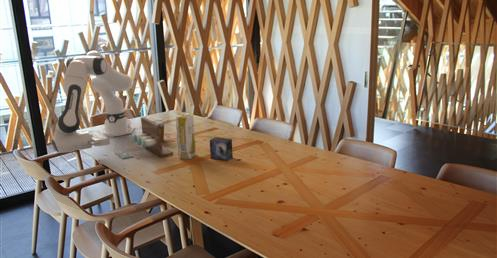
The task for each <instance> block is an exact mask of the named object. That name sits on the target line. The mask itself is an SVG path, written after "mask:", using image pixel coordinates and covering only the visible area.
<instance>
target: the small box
mask: <svg viewBox="0 0 497 258" xmlns="http://www.w3.org/2000/svg"><path fill="white" fill-rule="evenodd" d="M209 150H210V159H213V160H217V161H223V162H228V161H229V160H231V159H233V158H234V156H233V139H232V138H225V137H218V136H215V137H213V138H211V139H209Z"/></svg>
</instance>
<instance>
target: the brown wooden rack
mask: <svg viewBox="0 0 497 258" xmlns="http://www.w3.org/2000/svg"><path fill="white" fill-rule="evenodd" d="M153 121H154V120H151V119H149V118H147V117H145V116H144V117H140V123H141V132H142V133H141V134H143V133H147V136H151V137H152V139H154V138H156V140H157V145H153V146H148V147H146V148H144V150H147V151H148V152H149V153H151V154H153V155H154V156H155V157H158V158H159V159H160V158H165V157H169V156H173V155H174V152H173V151H172V150H170V149H168V148H166V147H165V146H163V141H161V129H160V125H159V124H157V123H155V122H153Z"/></svg>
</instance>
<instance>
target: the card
mask: <svg viewBox="0 0 497 258" xmlns="http://www.w3.org/2000/svg"><path fill="white" fill-rule="evenodd" d="M115 155H116V156H118V157H119V158H121V160H125V159H130V158H134V155H133V154H131V153H130V152H129V151H127V150H122V151H116V152H115Z"/></svg>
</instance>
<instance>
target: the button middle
mask: <svg viewBox="0 0 497 258" xmlns="http://www.w3.org/2000/svg"><path fill="white" fill-rule="evenodd" d="M149 139H152V137H151V136H145V137H137V142H136V143H137V145H138V146H142V140H149Z"/></svg>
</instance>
